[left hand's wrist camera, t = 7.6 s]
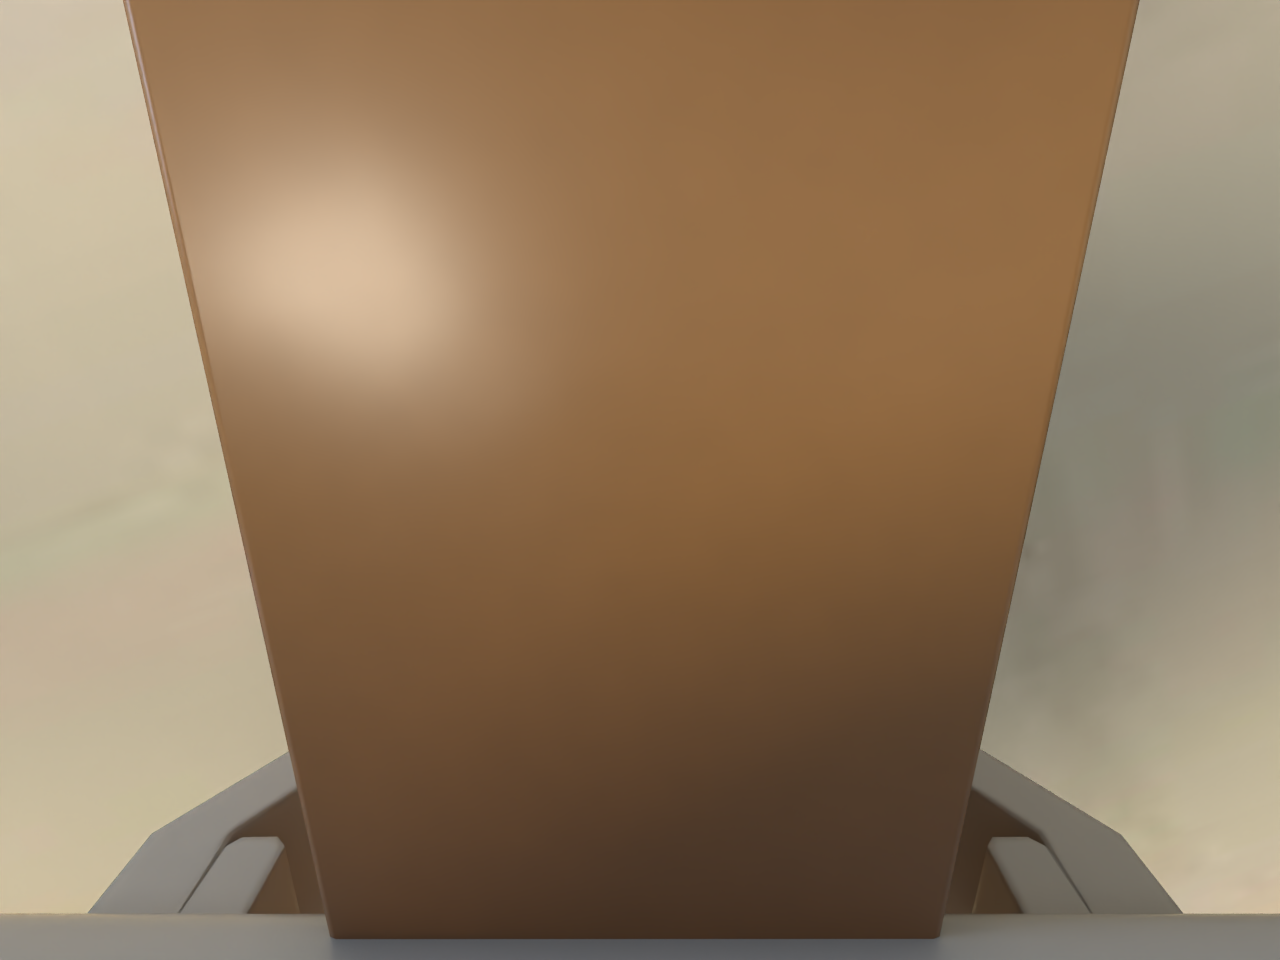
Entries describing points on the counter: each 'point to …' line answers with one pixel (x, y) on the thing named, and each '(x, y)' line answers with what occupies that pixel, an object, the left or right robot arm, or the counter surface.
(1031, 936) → the left robot arm
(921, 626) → the bar
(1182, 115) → the counter surface
